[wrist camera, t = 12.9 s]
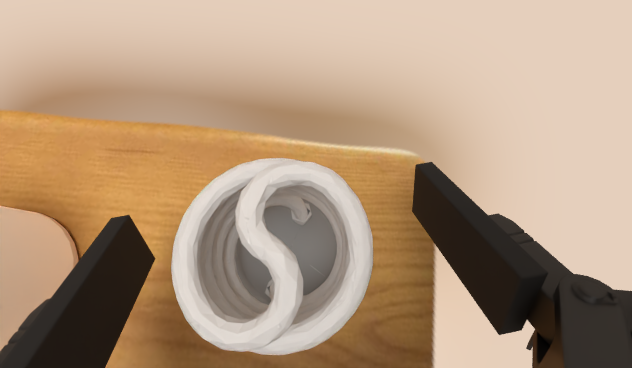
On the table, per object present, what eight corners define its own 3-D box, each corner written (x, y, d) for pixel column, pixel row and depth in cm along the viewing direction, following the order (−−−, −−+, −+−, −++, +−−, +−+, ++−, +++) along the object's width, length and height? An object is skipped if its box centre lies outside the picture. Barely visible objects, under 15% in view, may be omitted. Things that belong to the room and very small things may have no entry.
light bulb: (261, 199, 19) (175, 114, 7) (346, 212, 19) (402, 147, 7) (243, 289, 17) (101, 369, 6) (334, 304, 17) (378, 416, 6)
